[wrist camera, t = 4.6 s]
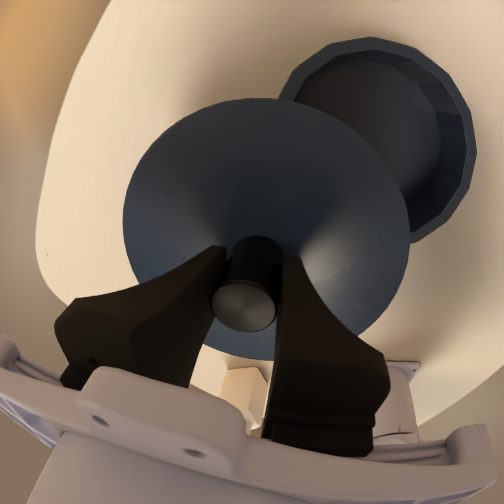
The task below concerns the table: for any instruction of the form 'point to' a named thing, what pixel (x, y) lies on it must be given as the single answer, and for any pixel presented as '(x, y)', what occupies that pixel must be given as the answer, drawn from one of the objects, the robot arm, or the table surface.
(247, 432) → the salt shaker
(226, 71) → the table surface
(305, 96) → the pot
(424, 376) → the table surface
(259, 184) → the lid
